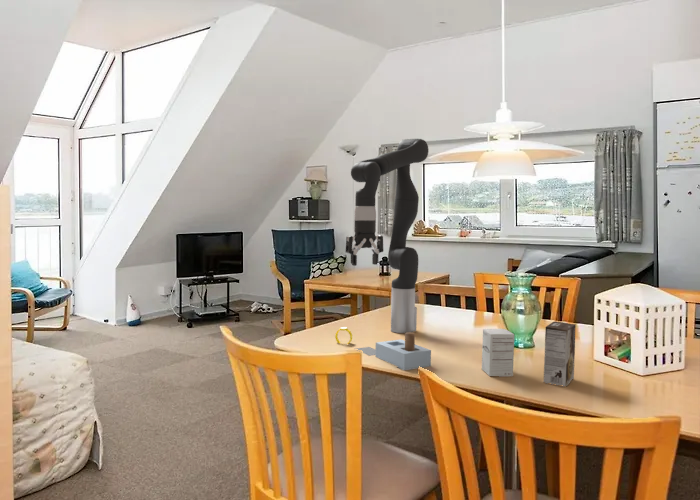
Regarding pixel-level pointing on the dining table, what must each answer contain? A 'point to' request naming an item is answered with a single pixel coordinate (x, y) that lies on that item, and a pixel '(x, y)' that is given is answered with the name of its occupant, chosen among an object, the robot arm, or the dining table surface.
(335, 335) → the watch
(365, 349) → the mat
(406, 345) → the dowel
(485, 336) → the supplement box
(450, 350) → the dining table surface
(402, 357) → the hole block
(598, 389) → the dining table surface
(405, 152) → the robot arm
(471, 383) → the dining table surface
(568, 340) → the coffee box
